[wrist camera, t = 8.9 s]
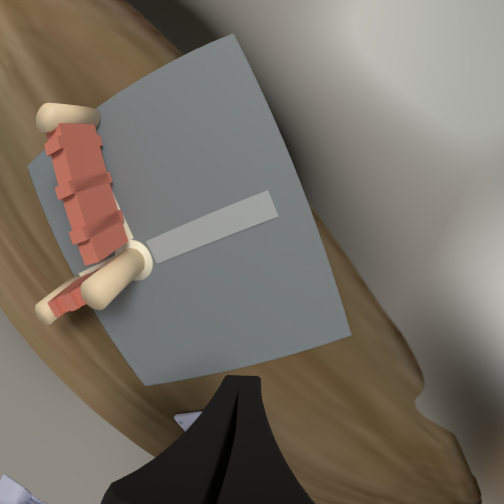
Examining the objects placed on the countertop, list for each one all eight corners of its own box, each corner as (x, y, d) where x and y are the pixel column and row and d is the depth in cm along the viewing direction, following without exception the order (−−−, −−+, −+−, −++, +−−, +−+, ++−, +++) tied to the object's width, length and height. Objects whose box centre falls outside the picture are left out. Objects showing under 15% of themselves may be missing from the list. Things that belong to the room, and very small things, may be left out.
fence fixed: (139, 242, 21) (96, 275, 15) (151, 266, 21) (113, 305, 16) (69, 276, 22) (27, 308, 17) (80, 296, 23) (40, 331, 17)
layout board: (350, 333, 22) (351, 335, 21) (146, 384, 26) (144, 386, 25) (233, 35, 15) (233, 32, 15) (29, 165, 19) (26, 165, 19)
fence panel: (134, 238, 20) (98, 263, 15) (115, 243, 20) (77, 269, 16) (97, 103, 17) (53, 97, 12) (79, 114, 17) (34, 111, 13)
